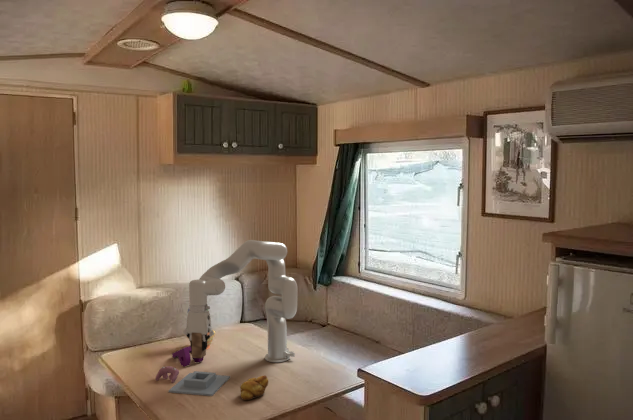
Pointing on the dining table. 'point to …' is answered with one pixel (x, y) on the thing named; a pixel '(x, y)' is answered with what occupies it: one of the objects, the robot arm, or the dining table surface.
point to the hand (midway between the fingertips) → (198, 348)
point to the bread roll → (253, 387)
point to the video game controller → (165, 371)
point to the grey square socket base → (200, 383)
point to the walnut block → (197, 346)
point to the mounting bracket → (185, 356)
